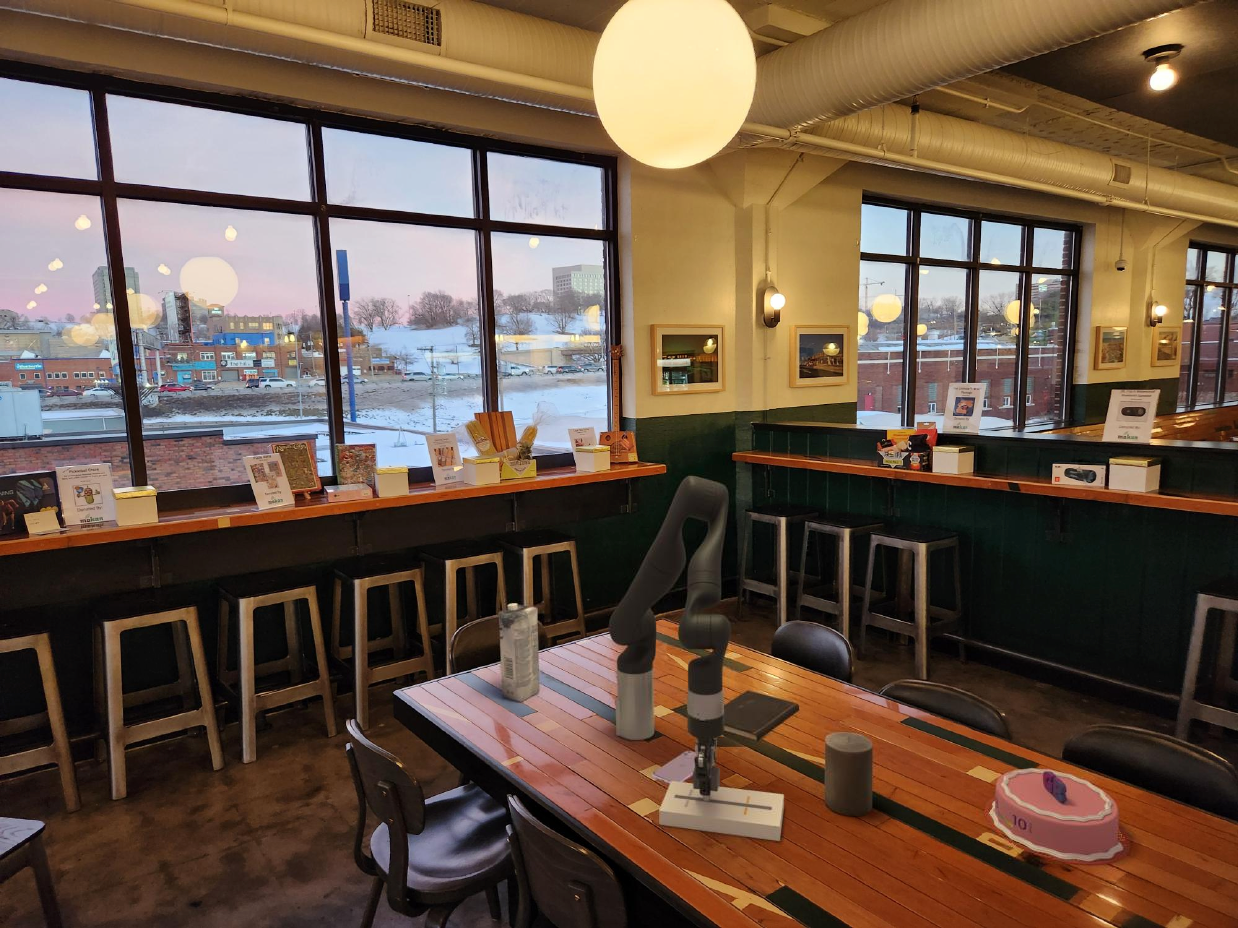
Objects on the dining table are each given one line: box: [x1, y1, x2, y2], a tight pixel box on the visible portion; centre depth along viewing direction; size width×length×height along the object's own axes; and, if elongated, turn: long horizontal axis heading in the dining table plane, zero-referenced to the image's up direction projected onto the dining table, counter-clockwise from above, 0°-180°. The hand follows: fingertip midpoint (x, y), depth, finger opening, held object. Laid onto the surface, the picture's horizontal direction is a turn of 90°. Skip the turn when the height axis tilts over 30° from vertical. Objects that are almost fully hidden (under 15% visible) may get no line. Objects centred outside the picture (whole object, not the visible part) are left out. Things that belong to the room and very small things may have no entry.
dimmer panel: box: [658, 781, 785, 842], centre depth 156 cm, size 24×12×3 cm, turn 74°
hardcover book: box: [724, 689, 800, 742], centre depth 203 cm, size 16×23×2 cm
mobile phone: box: [651, 750, 696, 785], centre depth 176 cm, size 8×1×15 cm
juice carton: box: [497, 602, 541, 703], centre depth 220 cm, size 9×10×27 cm
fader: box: [692, 766, 721, 801], centre depth 156 cm, size 5×3×6 cm, turn 74°
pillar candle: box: [824, 731, 874, 817], centre depth 159 cm, size 10×10×15 cm
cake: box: [983, 767, 1131, 866], centre depth 149 cm, size 25×25×11 cm
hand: (706, 789), depth 156 cm, fingers closed on fader, 3 cm apart
